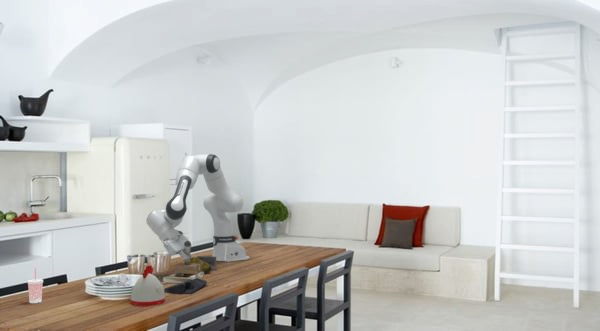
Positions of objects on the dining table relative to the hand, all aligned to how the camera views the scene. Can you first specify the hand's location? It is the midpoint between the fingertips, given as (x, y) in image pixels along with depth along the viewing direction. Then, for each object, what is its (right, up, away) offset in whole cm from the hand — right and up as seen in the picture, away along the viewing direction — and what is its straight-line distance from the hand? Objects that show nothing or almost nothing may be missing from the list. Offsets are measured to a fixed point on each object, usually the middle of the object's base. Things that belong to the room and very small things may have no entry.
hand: (188, 257), depth 307 cm
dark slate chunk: (+3, -11, -25) cm, 28 cm away
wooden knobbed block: (0, -9, +1) cm, 9 cm away
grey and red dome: (-8, -11, -51) cm, 53 cm away
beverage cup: (-55, -11, -51) cm, 75 cm away
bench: (+1, -10, +7) cm, 12 cm away
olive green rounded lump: (+2, -10, +14) cm, 18 cm away
